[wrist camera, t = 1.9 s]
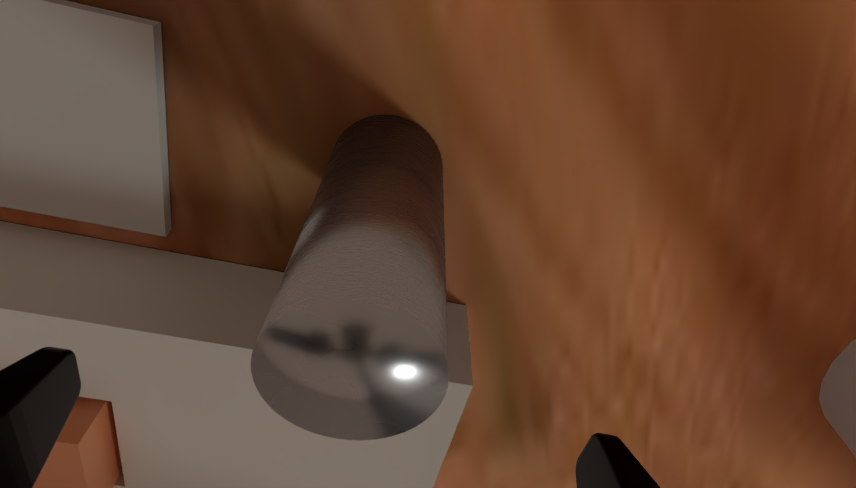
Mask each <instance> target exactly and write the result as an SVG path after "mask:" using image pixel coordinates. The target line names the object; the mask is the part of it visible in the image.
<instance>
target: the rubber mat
mask: <svg viewBox="0 0 856 488" xmlns="http://www.w3.org/2000/svg"><path fill="white" fill-rule="evenodd" d="M0 206H1V207H6V208H12V209H17V210H23V211H28V212H33V213H39V214H44V215H50V216H55V217H61V218H66V219H71V220H77V221H82V222H88V223H93V224H98V225H104V226H109V227H115V228H120V229H126V230H131V231H136V232H142V233H147V234H153V235H158V236H163V237H166V236H167V234H168V233H169V232H170V231H171V229H172V227H171V208H170V188H169V169H168V150H167V130H166V111H165V91H164V72H163V53H162V33H161V22H158V21H154V20H149V19H145V18H141V17H136V16H132V15H128V14H123V13H119V12H114V11H110V10H106V9H101V8H97V7H93V6H88V5H84V4H79V3H75V2H71V1H66V0H0Z"/></svg>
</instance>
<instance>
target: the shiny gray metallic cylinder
mask: <svg viewBox="0 0 856 488" xmlns="http://www.w3.org/2000/svg"><path fill="white" fill-rule="evenodd" d="M251 373H252V378H253V381H254V384H255V386H256V389H257V390H258V392H259V394H260V395H261V397H262V398H263V399H264V401H265V402H266V403H267V404H268V405H269V406H270V407H271V408H272V409H273V410H274V411H275V412H276V413H277V414H279V415H280V416H281V417H283V418H284V419H286V420H287V421H289V422H291V423H292V424H294V425H296V426H298V427H300V428H302V429H304V430H307V431H310V432H312V433H315V434H319V435H322V436H326V437H331V438H336V439H344V440H374V439H381V438H386V437H391V436H395V435H398V434H401V433H403V432H406V431H408V430H410V429H412V428H415V427H416V426H418V425H419V424H421V423H423V422H424V421H425V420H426V419H428V418H429V417H430V416H431V415H432V414H433V413H434V412H435V411H436V410H437V409H438V407H439V406H440V404H441V403H442V401H443V399H444V397H445V395H446V391H447V388H448V379H449V370H448V335H447V300H446V265H445V230H444V196H443V165H442V158H441V154H440V151H439V149H438V146H437V144H436V143H435V141H434V140H433V138H432V137H431V136H430V134H429V133H428V132H427V131H426V130H425V129H423V128H422V127H421V126H419V125H418V124H416V123H414V122H413V121H411V120H408V119H406V118H403V117H399V116H394V115H375V116H371V117H367V118H364V119H362V120H360V121H358V122H356V123H354V124H353V125H352V126H350V127H349V128H348V129H347V130H346V131H345V132H344V133H343V134H342V135H341V137H340V138H339V140H338V142H337V144H336V146H335V148H334V151H333V153H332V156H331V158H330V161H329V163H328V166H327V168H326V171H325V173H324V176H323V178H322V181H321V183H320V185H319V188H318V190H317V193H316V195H315V198H314V200H313V203H312V205H311V208H310V210H309V213H308V215H307V218H306V220H305V222H304V225H303V227H302V230H301V232H300V235H299V237H298V240H297V242H296V245H295V247H294V250H293V252H292V255H291V257H290V259H289V262H288V264H287V267H286V269H285V272H284V274H283V277H282V279H281V282H280V284H279V287H278V289H277V292H276V294H275V296H274V299H273V301H272V304H271V306H270V309H269V311H268V314H267V316H266V319H265V321H264V324H263V326H262V329H261V331H260V334H259V336H258V338H257V341H256V343H255V346H254V349H253V352H252V356H251Z"/></svg>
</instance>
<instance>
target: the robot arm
mask: <svg viewBox="0 0 856 488" xmlns="http://www.w3.org/2000/svg"><path fill="white" fill-rule="evenodd" d="M80 390H81V380H80V375H79V370H78V365H77V360H76V356H75V354H74V352H73V351H72V350H69V349H62V348H56V347H44V348H41V349H39V350H37V351H35V352H33V353H31V354H29V355H28V356H26V357H24V358H22V359H20V360H18V361H17V362H15V363H13V364H11V365H9V366H7V367H6V368H4V369H2V370H0V488H32V487H33V485H34V484H35V482H36V480H37V478H38V476H39V474H40V472H41V470H42V468H43V466H44V465H45V463H46V461H47V459H48V457H49V455H50V453H51V451H52V449H53V447H54V445H55V443H56V441H57V439H58V437H59V435H60V433H61V431H62V429H63V427H64V425H65V423H66V421H67V419H68V417H69V415H70V413H71V411H72V409H73V407H74V405H75V403H76V401H77V399H78V397H79V394H80ZM576 482H577V488H660V487H659V486H658V484H657V483H656V482H655V481H654V480H653V478H652V477H651V476H650V475H649V473H648V472H647V471H646V470H645V469H644V467H643V466H642V465H641V464H640V463H639V461H638V460H637V459H636V458H635V457H634V455H633V454H632V453H631V452H630V450H629V449H628V448H627V447H626V446H625V444H624V443H623V442H622V441H621V440H620V439H619V438H618V437H616V436H614V435H608V434H602V433H596V434H594V435H592V437H591V438H590V440H589V441H588V443H587V445H586V446H585V448H584V449H583V451H582V453H581V454H580V456H579V458H578V460H577V463H576Z"/></svg>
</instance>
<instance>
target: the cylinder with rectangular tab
mask: <svg viewBox="0 0 856 488" xmlns="http://www.w3.org/2000/svg"><path fill="white" fill-rule="evenodd" d="M819 403H820V406H821V409H822V412H823V415H824V417H825V418H826V419H827V420H828V422H829V423H830V424H831V426H832V427H833V428H834V430H835V431H836V432H837V434H838V435H839V436H840V438H841V439H842V440H843V442H844V443H845V444H846V446H847V447H848V448H849V450H850V451H851V452H852V454H853V455H854V456H855V457H856V339H854V340H853V341H852V342H850V343H849V344H848V346H847V347H846V348H845V349H844V350H843V351H842V352H841V353H840V354H839V355H838V357H837V358H836V359H835V360H834V361H833V362H832V363H831V365H830V367H829V369H828V371H827V373H826V374H825V376H824V378H823V380H822V382H821V387H820V394H819Z"/></svg>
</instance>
